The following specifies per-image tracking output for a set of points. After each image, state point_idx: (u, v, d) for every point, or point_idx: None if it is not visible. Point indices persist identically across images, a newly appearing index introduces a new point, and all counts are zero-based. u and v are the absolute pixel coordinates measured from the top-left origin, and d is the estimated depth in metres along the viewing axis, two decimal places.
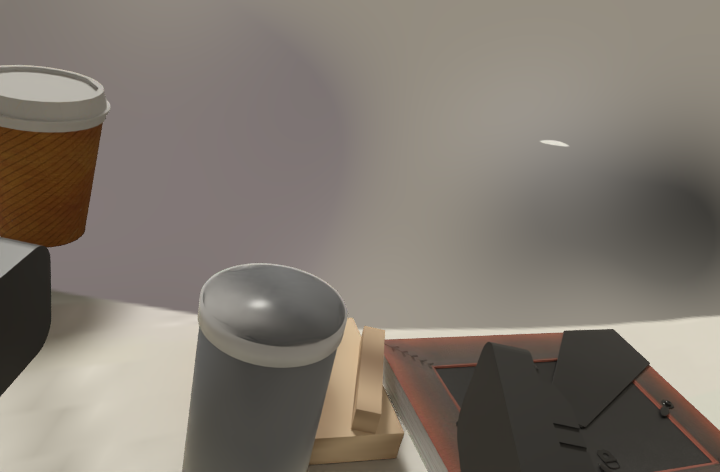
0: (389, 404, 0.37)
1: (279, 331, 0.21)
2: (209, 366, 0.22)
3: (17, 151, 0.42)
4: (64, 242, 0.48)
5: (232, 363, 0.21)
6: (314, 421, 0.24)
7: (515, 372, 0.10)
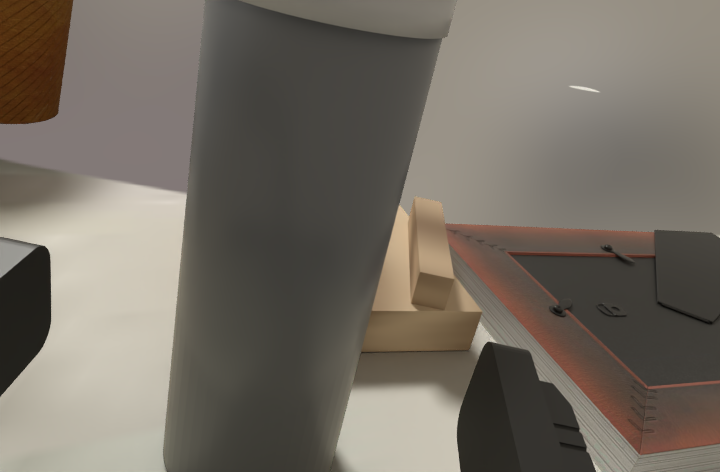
0: (457, 281, 0.27)
1: None
2: (223, 54, 0.12)
3: None
4: (30, 119, 0.38)
5: (266, 27, 0.11)
6: (396, 190, 0.14)
7: (515, 372, 0.10)
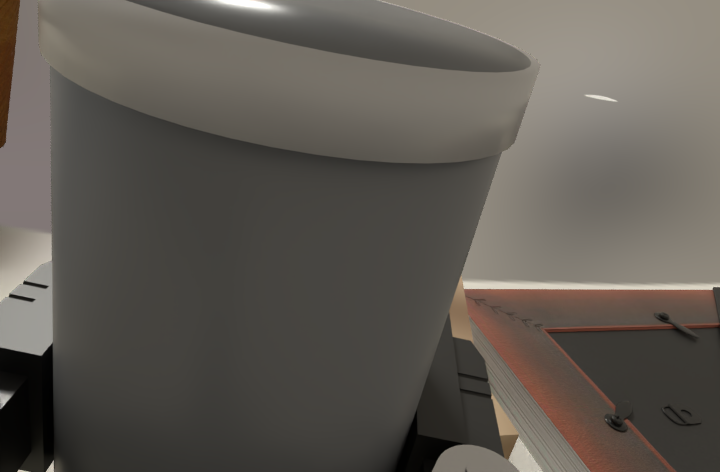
0: None
1: (329, 34, 0.05)
2: (72, 186, 0.06)
3: None
4: None
5: (145, 146, 0.05)
6: (417, 395, 0.08)
7: None
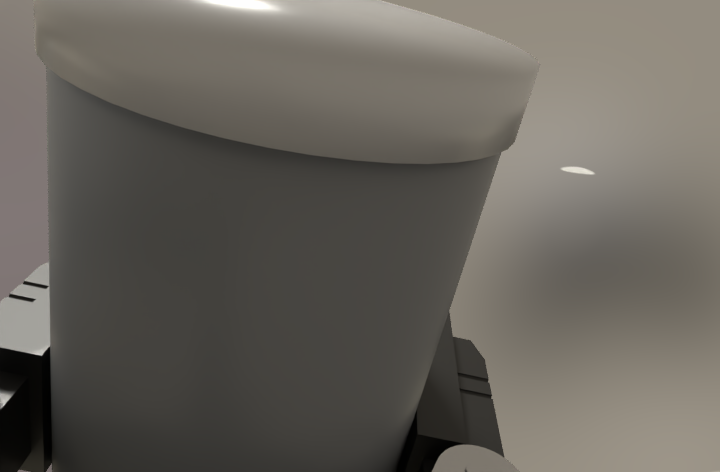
0: None
1: (327, 34, 0.05)
2: (68, 188, 0.06)
3: None
4: None
5: (141, 148, 0.05)
6: (417, 397, 0.08)
7: None
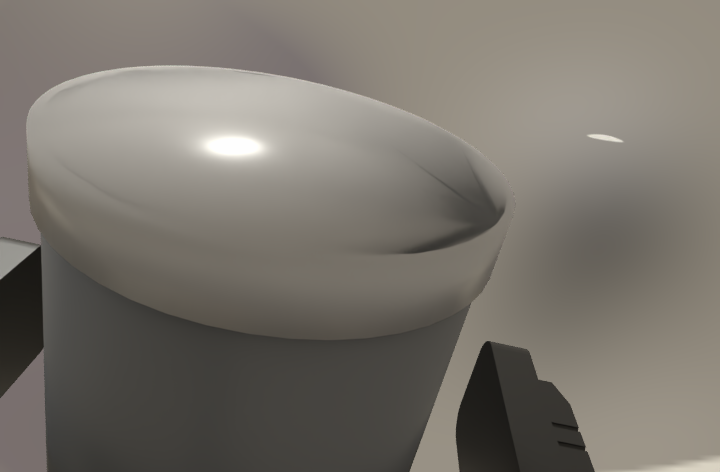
0: None
1: (306, 206, 0.06)
2: (61, 334, 0.06)
3: None
4: None
5: (129, 320, 0.05)
6: None
7: (514, 371, 0.10)
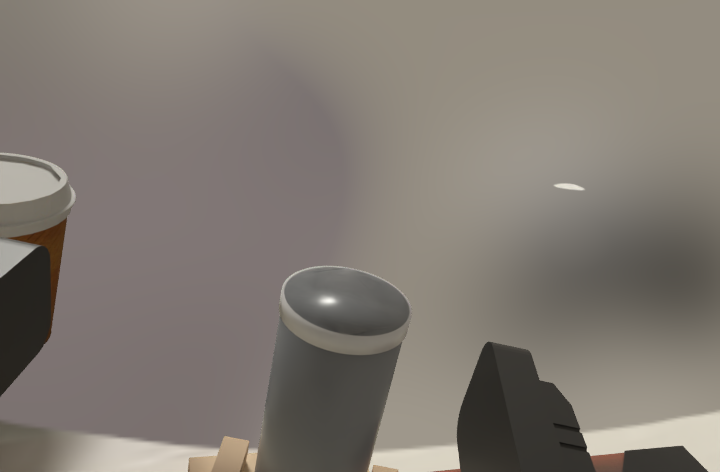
0: None
1: (355, 323, 0.24)
2: (292, 356, 0.24)
3: None
4: None
5: (315, 352, 0.23)
6: (382, 407, 0.26)
7: (515, 372, 0.10)
